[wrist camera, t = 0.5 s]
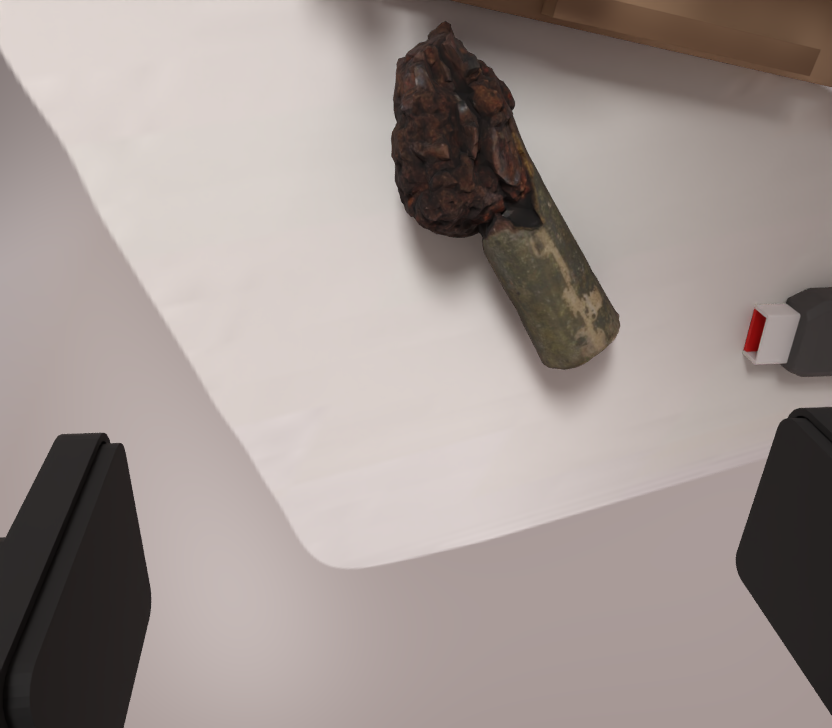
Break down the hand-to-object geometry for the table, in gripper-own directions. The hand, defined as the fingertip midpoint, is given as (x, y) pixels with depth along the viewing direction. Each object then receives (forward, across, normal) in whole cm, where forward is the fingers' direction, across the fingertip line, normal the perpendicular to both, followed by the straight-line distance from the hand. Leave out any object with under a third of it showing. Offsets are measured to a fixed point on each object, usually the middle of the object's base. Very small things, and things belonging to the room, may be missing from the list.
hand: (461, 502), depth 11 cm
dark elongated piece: (+33, -11, +9) cm, 36 cm away
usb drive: (+31, -30, +13) cm, 45 cm away
